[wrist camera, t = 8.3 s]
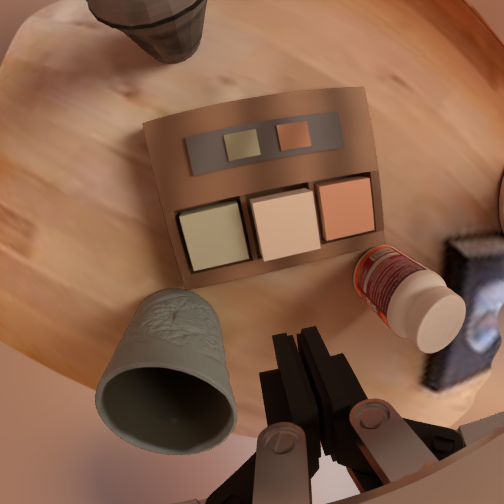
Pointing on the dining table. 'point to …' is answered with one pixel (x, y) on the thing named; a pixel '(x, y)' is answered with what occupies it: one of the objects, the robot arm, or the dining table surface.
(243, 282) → the dining table surface
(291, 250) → the key cream
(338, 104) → the keypad board
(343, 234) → the key terracotta
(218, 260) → the key sage
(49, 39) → the dining table surface
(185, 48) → the beverage cup
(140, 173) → the dining table surface
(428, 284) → the pill bottle
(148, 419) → the grey green cup
